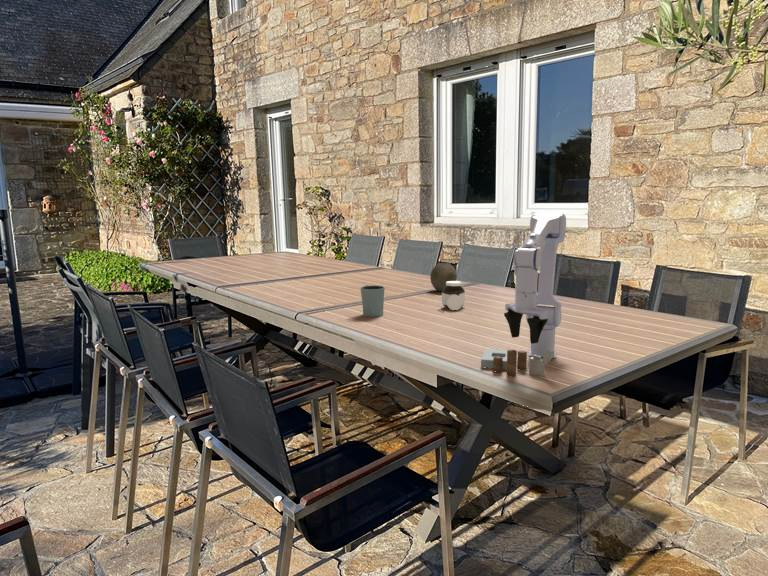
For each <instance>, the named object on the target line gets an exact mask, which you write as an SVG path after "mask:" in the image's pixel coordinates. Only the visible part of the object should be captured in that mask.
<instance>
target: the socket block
mask: <svg viewBox="0 0 768 576" xmlns="http://www.w3.org/2000/svg"><path fill="white" fill-rule="evenodd" d="M507 350H508V349H506V350H505V349H494V348H492V349H491V348H485V349H484V351H483V354H482V356H481V359H480V368H481V367H488V368H487V369H492V368H493V357H495V356H499V357H503V366H502V370H505V369H507Z"/></svg>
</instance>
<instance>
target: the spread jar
mask: <svg viewBox="0 0 768 576" xmlns="http://www.w3.org/2000/svg"><path fill="white" fill-rule="evenodd" d="M465 302H466V292H465V289H464V288H463V287H462V281H459V280H456V281H447V282H446V287H445V288H444V289H443V291H441V304H442V305H443V307H444V308H445V309H448V308H449V309H450V310H451V311H454V310H456V311H458V310H460V309H461V308H463V307H464V305H465Z"/></svg>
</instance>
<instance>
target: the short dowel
mask: <svg viewBox="0 0 768 576" xmlns="http://www.w3.org/2000/svg"><path fill="white" fill-rule="evenodd" d="M502 366H503V357H499V356H495V357H493V369H492V372H494V371H496V372H495V373H498V372H499V373H502V372H503V369H502ZM501 371H502V372H501Z"/></svg>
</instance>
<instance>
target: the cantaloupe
mask: <svg viewBox="0 0 768 576" xmlns="http://www.w3.org/2000/svg"><path fill="white" fill-rule="evenodd" d="M457 277H458V274H457V270H456V268H455V267H454V266H453V265H452V264H450V263H448V262H441V263H438V264H436V265H435V266H433V268H432V270H431V272H430V278H429V279H430V282H431V285H432V288H434V289H435V290H436V291H438V292H442V291H443V289H444V288H445V287H446V282H447V281H457V279H458V278H457Z"/></svg>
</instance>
